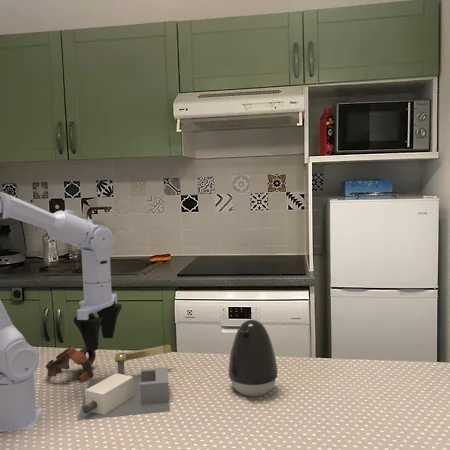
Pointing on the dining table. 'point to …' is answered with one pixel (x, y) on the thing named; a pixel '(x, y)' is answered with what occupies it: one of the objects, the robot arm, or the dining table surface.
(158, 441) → the dining table surface
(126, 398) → the plug
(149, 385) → the socket
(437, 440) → the dining table surface
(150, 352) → the brass ball-knob lever
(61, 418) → the dining table surface
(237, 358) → the pump dispenser
